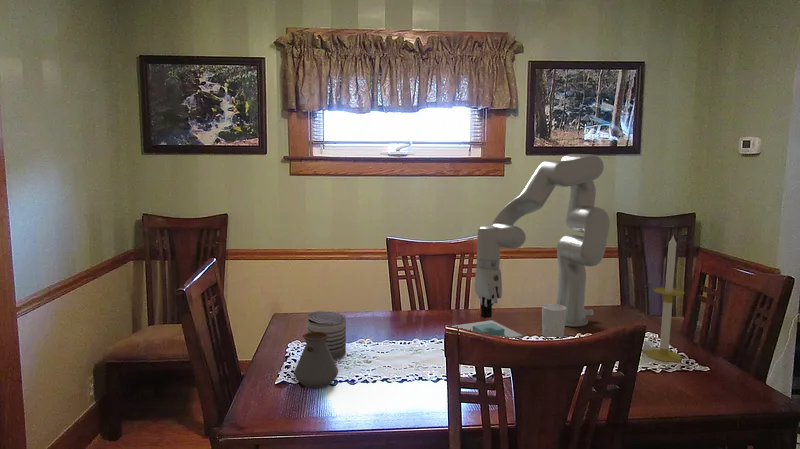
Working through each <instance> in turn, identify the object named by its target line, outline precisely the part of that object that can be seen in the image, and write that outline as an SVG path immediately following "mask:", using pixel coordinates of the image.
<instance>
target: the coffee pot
mask: <svg viewBox="0 0 800 449" xmlns="http://www.w3.org/2000/svg"><path fill="white" fill-rule="evenodd" d="M302 338H303V339H304V340H305V343H306V344H305V346H304V347H303V350H302V353H301V355H300V358H299V359H298V362H297V364H296V367H295V370H294V373H293V374H294V376H295V378H296V380H297V381H298V382H299V383H300V384H302V386H304V387H306V388H311V389H318V388H319V389H320V388H324V387H327V386H329V385H331V384H332V382H334V380H335V379H336V378H337V376H338V373H339V369H338V366H337V364H336V362H335V360H334V359H333V357H332V355H331V353H330V350H329V348H328V346H327V344H326V340H327V338H328V334H327V333H325V332H310V333H308V332H306V333H304V334H303V335H302Z"/></svg>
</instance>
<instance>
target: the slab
mask: <svg viewBox="0 0 800 449" xmlns="http://www.w3.org/2000/svg"><path fill="white" fill-rule="evenodd" d="M472 331H475V332H479V333H485V334H489V335H497V336H500V335H504V332H505V329H504V328H502V327H500V326H498V325H496V324H494V323H489V324H482V325H475V326H473V330H472Z"/></svg>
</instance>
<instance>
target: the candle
mask: <svg viewBox="0 0 800 449" xmlns="http://www.w3.org/2000/svg"><path fill="white" fill-rule="evenodd" d="M667 248H668V249H667V259H666V260H667V261H666V273H665V274H666V275H665V286H660V287H659V286H658V287H654V288H653V292H654V293H657V294H660V295H663V301H662V302H663V303H662V313H661V314H662V315H661V325H660V328H661V329H660V341H659V348H657V349H656V348H654V349H648V350H647V351H646V352H645V355H646V356H647V357H648V358H651V359H653V360H655V361H660V362H664V363H665V362H667V363H677V362H681V361H682V355H680V354H679V353H678V352H677V353H676V352H674V351H670V350H669V349H670V336H671V326H672V325H671V324H672V314H673V311H672V310H673V300H674V297H677V296H683V295H685V291H683V290H682V289H678V288H675V287H674V280H675V279H674V278H675V265H676V253H677V241H676V239H675V236H674V235H672V236H671V239H670V241H669V242H668V247H667Z"/></svg>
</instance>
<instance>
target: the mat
mask: <svg viewBox="0 0 800 449" xmlns="http://www.w3.org/2000/svg"><path fill="white" fill-rule="evenodd" d="M489 323H494V324H496V325H498V326H500V327H502V328H504V329H505V332H504V335H500V336H503V337H507V336H508V337H509V338H515V339H518V338H517V337H521V338H524V335H523V334H521V333H519V332H518V331H515V330H513V329H510V328H509V327H507V326H505V325H503V324H501V323H498V322H496V321H495V320H493V319H492V320H491V319H490V320H484V321H477V322H472V323H471V322H470V323H469V322H468V323H463V324H457V325H456V324H455V325H451V326H452V327H457V326H458V328H463V329H467V330H470V329H471V331H472V330H473V326H475V325H482V324H489Z"/></svg>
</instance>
